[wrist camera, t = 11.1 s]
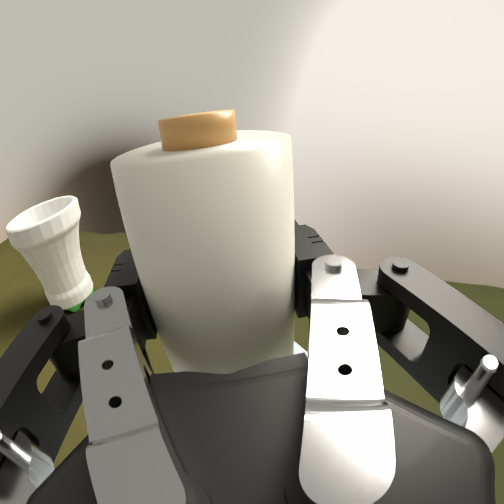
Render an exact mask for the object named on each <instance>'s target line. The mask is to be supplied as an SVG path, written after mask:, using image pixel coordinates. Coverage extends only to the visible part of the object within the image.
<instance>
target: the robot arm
mask: <svg viewBox="0 0 504 504" xmlns="http://www.w3.org/2000/svg"><path fill="white" fill-rule="evenodd" d="M294 235H295V311H296V314H297V316H298V318H301V317H306V316H308V318H309V337H308V354H307V356H306V354H305V352H304V353H299V354H294V355H289V356H284V357H279V358H274V359H268V360H265V361H263V362H260V363H258V364H255V365H252V366H250V367H247V368H244V369H242V370H239V371H236V372H234V373H230V374H215V373H202V372H191V371H184V372H174V373H162V374H155V372H154V369H153V366H152V363H151V360H150V358H149V355H148V352H147V350H146V347H145V344H146V340H147V339H156V336H157V328H156V325H155V323H154V320H153V317H152V314H151V311H150V309H149V306H148V303H147V300H146V297H145V294H144V291H143V288H142V285H141V282H140V279H139V275H138V272H137V269H136V266H135V262H134V259H133V256H132V252H131V249H129V250H124V251H123V252H122V253H121V254H120V255H119V256H118V257H117V258H116V261H115V263H114V266H113V267H112V270H111V272H110V274H109V277H108V279H107V281H106V284H105V286H104V288H101V289H99V290H97V291H95V292H93V293H92V294H91V295H89V296H88V298H87V299H86V301H85V303H84V310H82V311H79V312H77V313H74V314H71V315H68V316H66V315H65V313H64V311H63V309H62V308H61V307H60V306H57V305H51V306H47V307H45V308H42V309H41V310H39V311H38V312H37V313H35V314H34V316H33V317H32V318H31V319H30V320H29V322H28V323H27V324H26V325H25V327H24V328H23V329H22V330H21V332H20V333H19V334H18V335H17V337H16V338H15V339H14V341H13V342H12V343H11V345H10V346H9V347H8V349H7V350H6V351H5V353H4V354H3V355H2V357H1V358H0V504H496V503H495V487H494V483H495V466H494V460H493V457H492V452H493V451H494V449H495V448H496V447H497V445H498V444H499V443H500V441H501V440H502V439H503V437H504V324H503V323H502V322H500V321H499V320H498V319H496V318H495V317H494V316H492V315H491V314H490V313H488V312H487V311H485V310H484V309H483V308H481V307H480V306H478V305H477V304H476V303H474V302H473V301H471V300H470V299H469V298H467V297H466V296H464V295H463V294H461V293H460V292H458V291H457V290H456V289H454V288H453V287H451V286H450V285H448V284H447V283H445V282H444V281H442V280H441V279H439V278H438V277H436V276H434V275H433V274H431V273H430V272H428V271H427V270H425V269H424V268H422V267H421V266H419V265H418V264H416V263H414V262H413V261H411V260H409V259H406V258H403V257H387V258H385V259H383V260H382V261H381V263H380V266H379V271H375V270H357V269H356V266H355V264H354V263H353V261H351V260H350V259H348V258H346V257H344V256H340V255H334V254H333V252H332V251H331V250H330V249H329V247H328V246H327V245H326V243H325V242H323V240H322V238H321V237H319V235H318V233H317V232H316V231H315V230H314V229H313V228H311V227H309V226H306V225H298V223H297V222H296V221H295V219H294ZM410 309H411V310H413V311H414V312H415V313H416V314H418V315H419V316H420V317H421V318H423V319H424V320H425V321H426V322H427V323H428V325H429V328H430V335H429V336H427V335H426V334H425V333H424V332H423V331H421V330H420V329H419V328H418V327H417V326H415V325H414V324H413V323H412V322H410V321H409V320H408V319H407V318H408V314H409V311H410ZM377 344H378V345H379V346H380V347H381V348H383V349H384V350H385V351H386V352H387V353H388V354H389V355H390V356H391V357H392V358H393V359H394V360H395V361H396V362H397V363H398V364H399V365H400V366H401V367H402V368H404V369H405V370H406V371H407V372H408V373H409V374H410V375H411V376H412V377H413V378H414V379H415V380H416V381H417V382H418V383H419V384H420V385H421V386H422V387H423V388H424V389H425V390H426V391H427V392H428V393H429V394H430V395H431V396H433V397H434V398H435V399H436V400H437V401H438V402H439V403H440V410H441V413H442V415H443V416H442V417H440V416H438V415H436V414H434V413H432V412H430V411H428V410H425V409H423V408H421V407H419V406H417V405H415V404H413V403H411V402H409V401H407V400H405V399H403V398H401V397H399V396H397V395H395V394H393V393H391V392H389V391H387V390H385V389H383V383H382V376H381V368H380V362H379V355H378V349H377ZM49 359H50V361H51V362H52V364H53V365H54V367H55V368H56V369H57V370H56V371H55V373H54V375H53V376H52V378H51V380H50V381H49V383H48V385H47V386H46V388H45V390H44V391H43V393H42V395H41V393H40V392H39V391H38V389H37V384H36V382H37V377H38V375H39V374H40V372H41V371H42V369H43V367H44V366H45V364H46V363H47V361H48V360H49ZM82 401H83V405H84V412H85V419H86V425H87V430H88V435H87V436H86V437H85V438H84V439H83V440H82V442H81V443H80V444H79V445H78V446H77V447H76V448H75V449H74V450H73V451H72V452H71V453H70V454H69V455H68V456H67V457H66V458H65V459H64V460H63V461H62V462H61V464H60V465H59V466H58V467H57V468H56V469H55V470H54V465H53V463H54V460H55V458H56V456H57V454H58V451H59V449H60V447H61V445H62V442H63V440H64V438H65V436H66V434H67V432H68V429H69V427H70V425H71V423H72V421H73V419H74V417H75V415H76V413H77V411H78V409H79V407H80V405H81V403H82Z"/></svg>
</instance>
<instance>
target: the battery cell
mask: <svg viewBox="0 0 504 504" xmlns="http://www.w3.org/2000/svg"><path fill="white" fill-rule="evenodd" d="M158 123H159V131H160V138H161V142H157V143H154V144H150V145H147V146H144V147H140V148H137V149H135V150H131V151H129V152H127V153H124V154H122V155H120V156H118V157H116V158H115V159H113V160H112V161H111V163H110V165H111V171H112V175H113V180H114V185H115V189H116V194H117V198H118V202H119V207H120V211H121V215H122V219H123V223H124V227H125V230H126V234H127V238H128V241H129V245H130V249H131V252H132V256H133V259H134V262H135V266H136V269H137V272H138V275H139V279H140V282H141V285H142V288H143V291H144V294H145V297H146V300H147V303H148V306H149V309H150V311H151V314H152V317H153V320H154V323H155V325H156V328H157V331H158V333H159V336H160V339H161V341H162V344H163V347H164V349H165V352H166V354H167V357H168V359H169V361H170V364H171V366H172V369H173V371H174V372H184V371H191V372H202V373H215V374H230V373H234V372H236V371H239V370H242V369H244V368H247V367H250V366H252V365H255V364H258V363H260V362H263V361H265V360H268V359H274V358H279V357H284V356H289V355H294V309H295V235H294V191H293V190H294V188H293V160H292V138H291V136H290V135H288V134H285V133H281V132H274V131H260V130H246V131H245V130H241V131H237V130H236V119H235V110H219V111H209V112H201V113H194V114H187V115H181V116H176V117H171V118H166V119H162V120H158Z"/></svg>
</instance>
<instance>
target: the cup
mask: <svg viewBox="0 0 504 504" xmlns="http://www.w3.org/2000/svg"><path fill="white" fill-rule="evenodd" d="M80 215H81V212H80V208H79V204H78V200H77V198H76V197H74V196H62V197H57V198H54V199H51V200H48V201H45V202H42V203H40V204H38V205H36V206H33V207H31V208H29V209H28V210H26V211H24V212H22V213H21V214H19V215H18V216H17V217H15V218H14V219H12V220H11V221H10V222H9V223H8V225H7V226H6V233H7V236H8V238H9V241H10V243H11V245H12V247H14V248H15V249H16V250H18V251H19V252H20V254H21V255H22V256H23V257H24V258H25V260H26V261H27V262H28V264H29V265H30V266H31V267H32V269H33V270H34V272H35V273H36V275H37V277H38V278H39V280H40V282H41V284H42V286H43V288H44V290H45V295H46V297H47V299H48V301H49V303H50V305H57V306H60V307H61V308H62V309H63V311H64V310H70V311H71V312H77V311H78V310H79V309H80V306H81V304H82V303H83V302H84V301H85V300H86V299H87V298H88V296H89V295H91V294H92V293H93V282H92V280H91V277H90V275H89V274H88V272H87V271H86V269H85V266H84V263H83V260H82V256H81V251H80V244H79V219H80Z"/></svg>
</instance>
